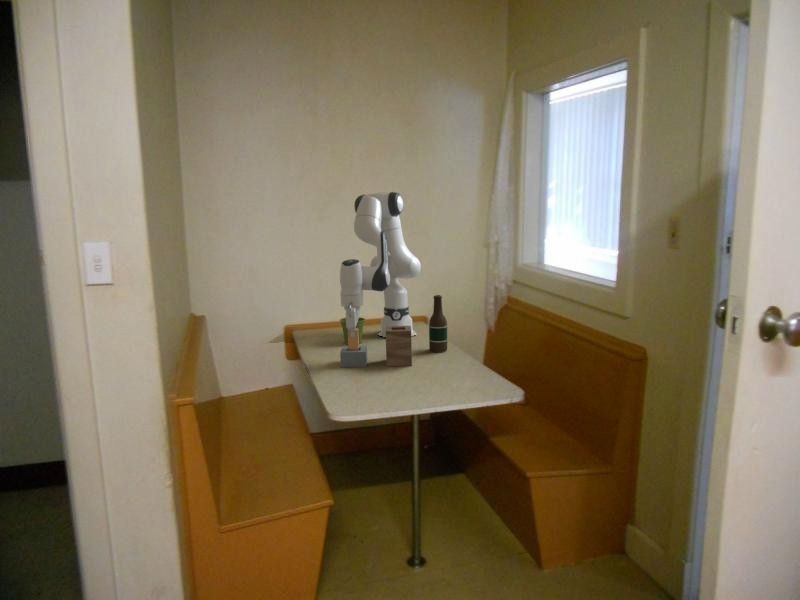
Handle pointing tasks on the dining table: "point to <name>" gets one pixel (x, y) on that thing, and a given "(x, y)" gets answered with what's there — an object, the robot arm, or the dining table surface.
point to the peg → (353, 341)
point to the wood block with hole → (398, 346)
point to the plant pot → (358, 326)
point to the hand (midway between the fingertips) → (353, 335)
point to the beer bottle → (438, 327)
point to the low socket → (353, 357)
